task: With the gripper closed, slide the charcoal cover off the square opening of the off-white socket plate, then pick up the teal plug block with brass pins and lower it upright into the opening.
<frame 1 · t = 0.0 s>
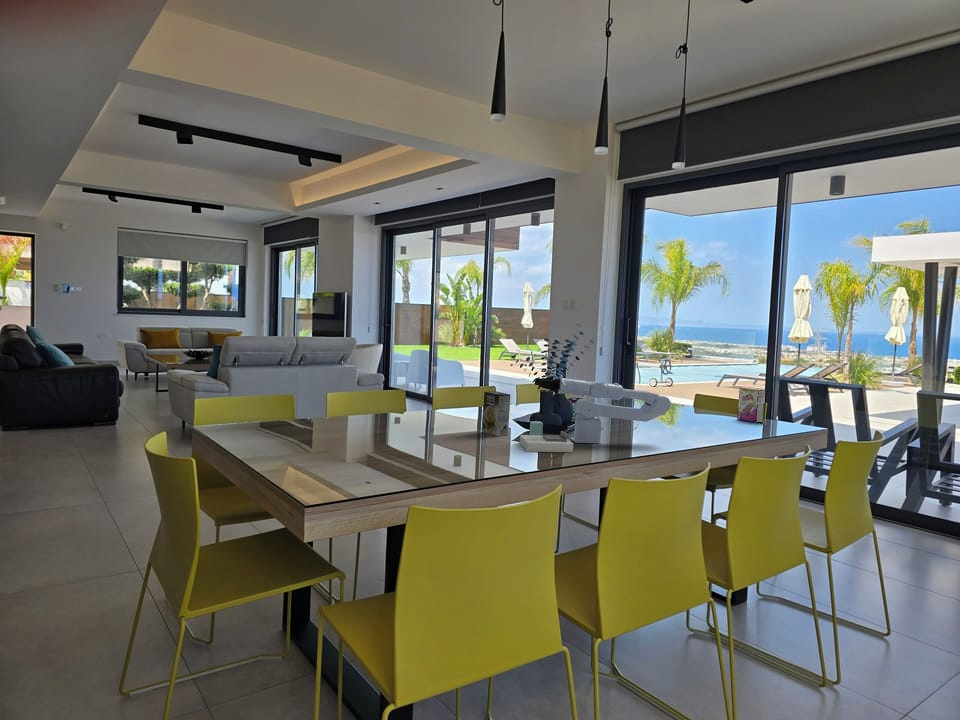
hand: (536, 382, 233), 22 cm above the table, fingers open, 7 cm apart
candy bar box: (749, 421, 310), on the table
socket plate: (545, 447, 221), on the table
plug: (535, 439, 236), on the table
shutter: (555, 435, 221), point 4 cm above the table, slide at 0.0 cm
coffee box: (495, 434, 244), on the table
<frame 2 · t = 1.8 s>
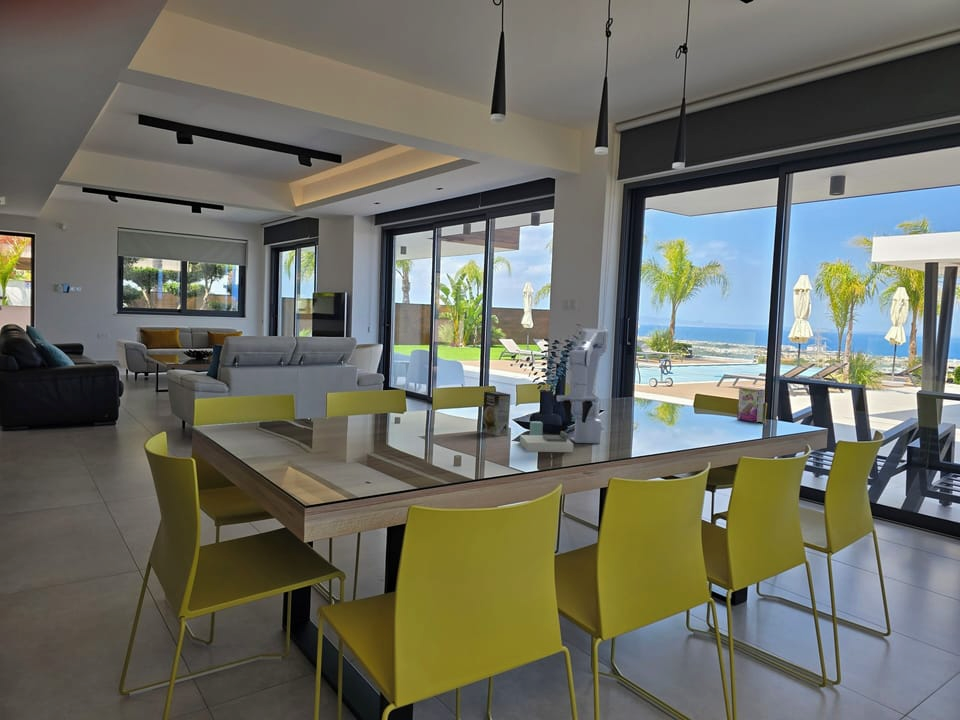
hand: (576, 422, 222), 9 cm above the table, fingers open, 5 cm apart
nothing on the table moved.
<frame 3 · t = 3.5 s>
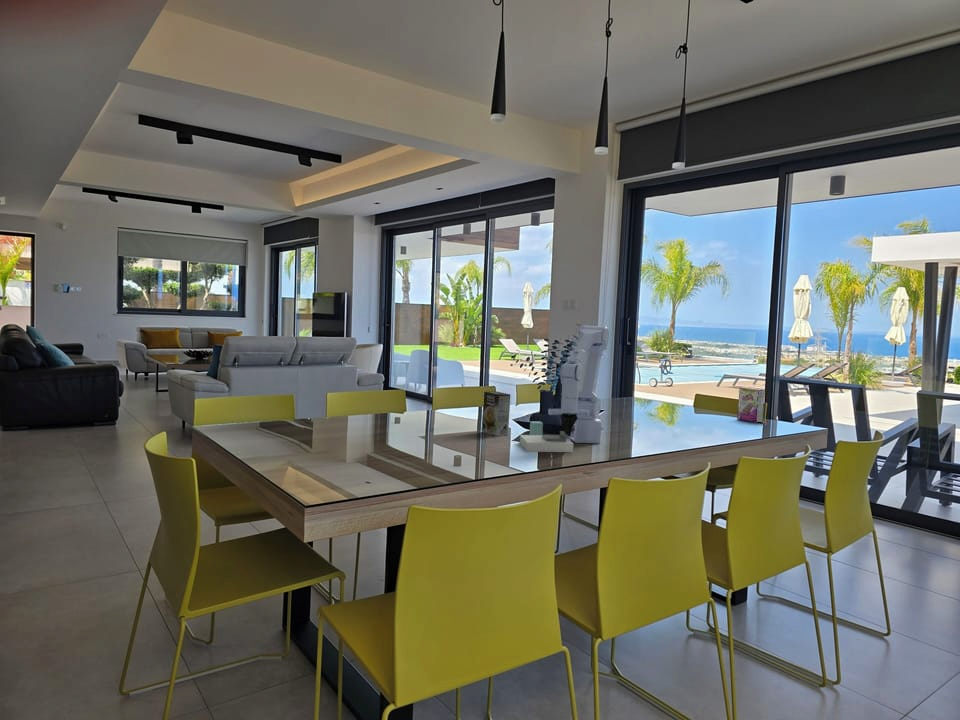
hand: (567, 435, 222), 5 cm above the table, fingers closed
shutter: (554, 435, 221), point 4 cm above the table, slide at 0.2 cm, touching gripper
everything else where it was.
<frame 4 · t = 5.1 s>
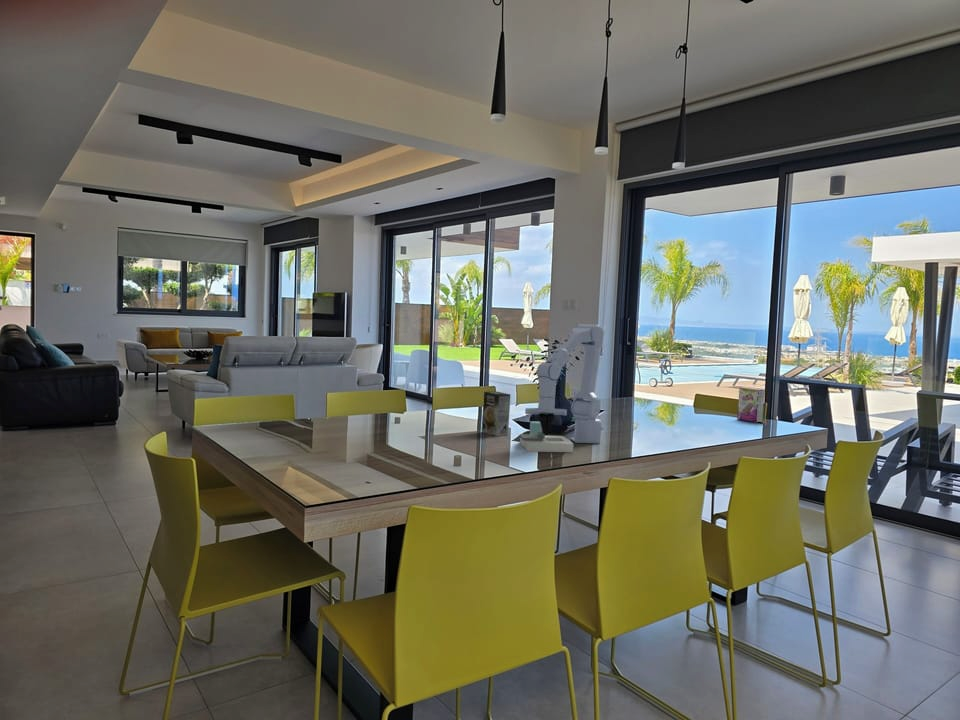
hand: (544, 435, 221), 5 cm above the table, fingers closed
shutter: (531, 435, 220), point 4 cm above the table, slide at 8.4 cm, touching gripper
everything else where it was.
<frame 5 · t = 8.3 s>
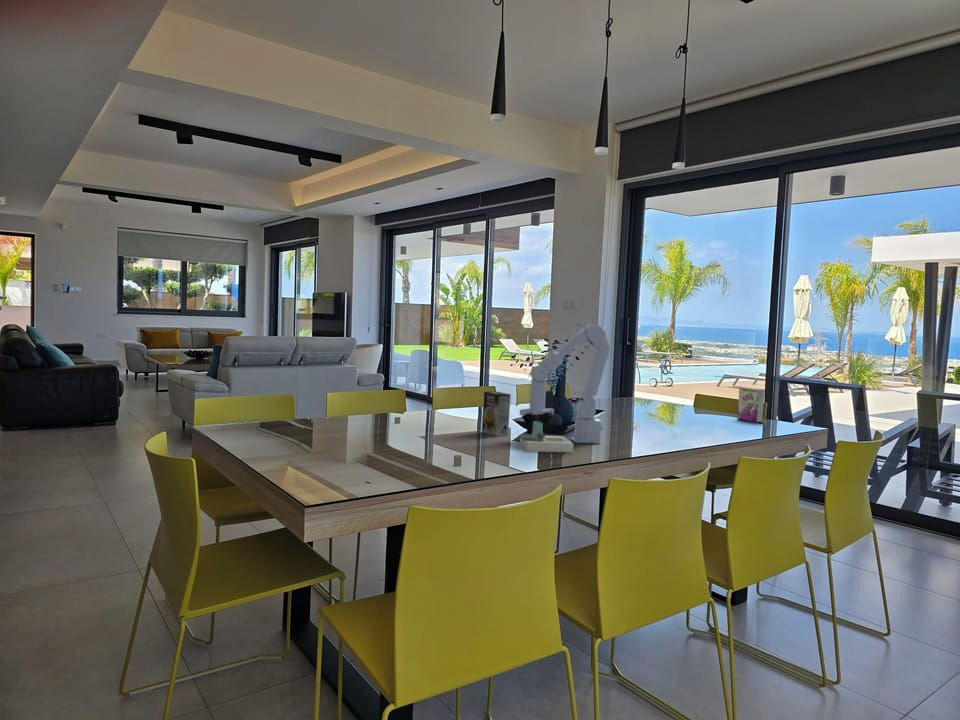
hand: (535, 433, 236), 2 cm above the table, fingers closed on plug, 5 cm apart
plug: (535, 439, 236), on the table, touching gripper
shutter: (531, 435, 220), point 4 cm above the table, slide at 8.4 cm
everything else where it was.
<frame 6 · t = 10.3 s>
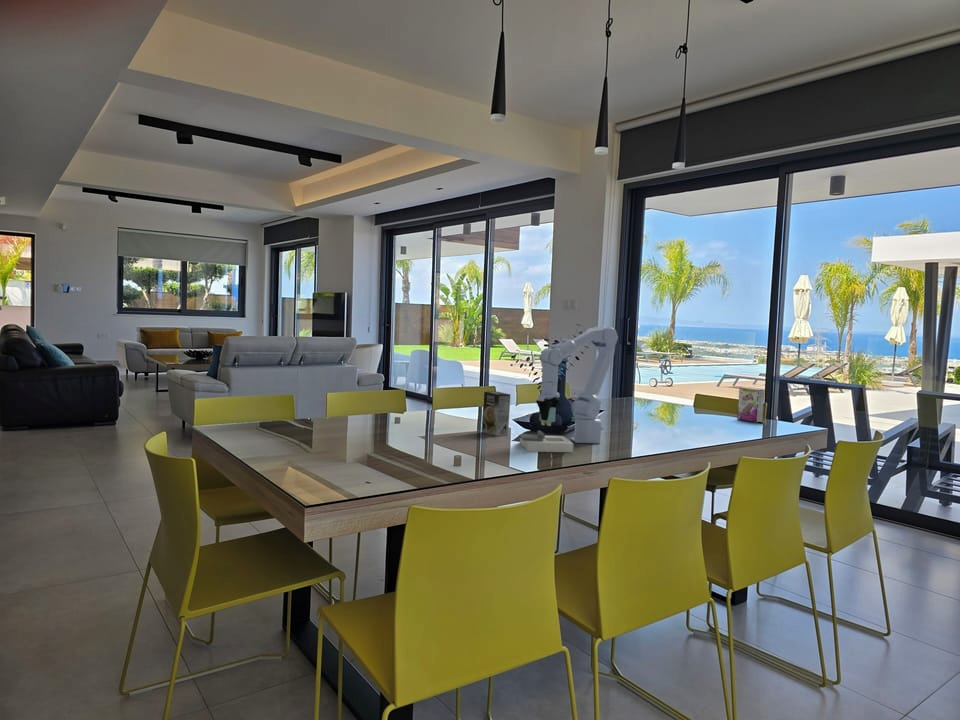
hand: (547, 419, 227), 9 cm above the table, fingers closed on plug, 5 cm apart
plug: (547, 425, 227), point 7 cm above the table, touching gripper
everything else where it was.
when the fingers open (4 cm above the table, at t = 12.6 s): plug drops 1 cm, resting in socket plate.
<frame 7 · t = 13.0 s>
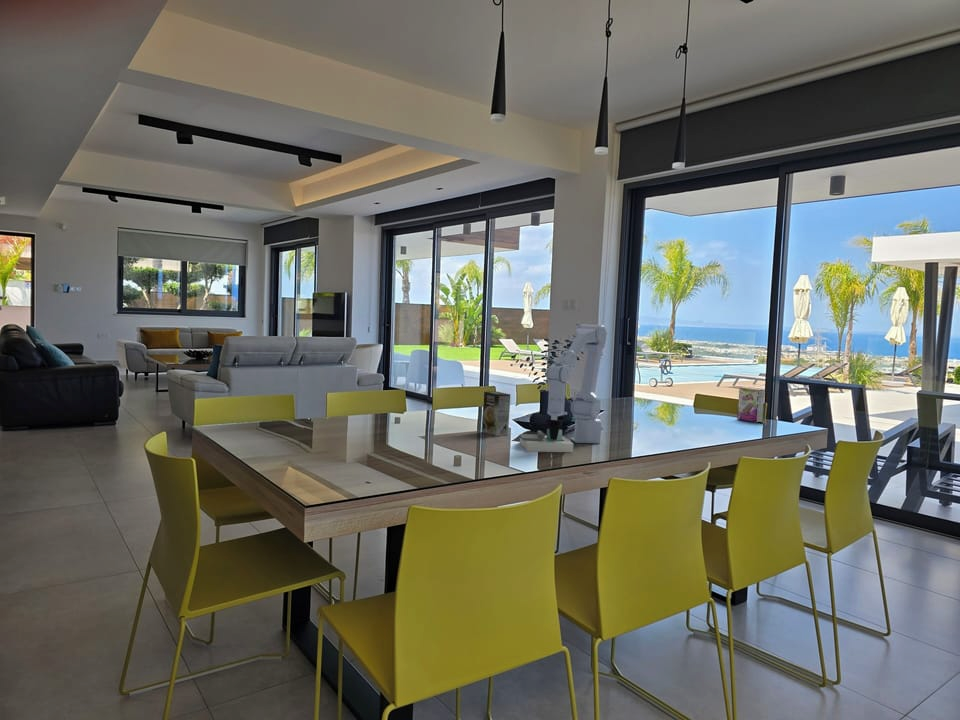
hand: (554, 437, 221), 4 cm above the table, fingers open, 7 cm apart
plug: (553, 447, 222), resting in socket plate
everything else where it was.
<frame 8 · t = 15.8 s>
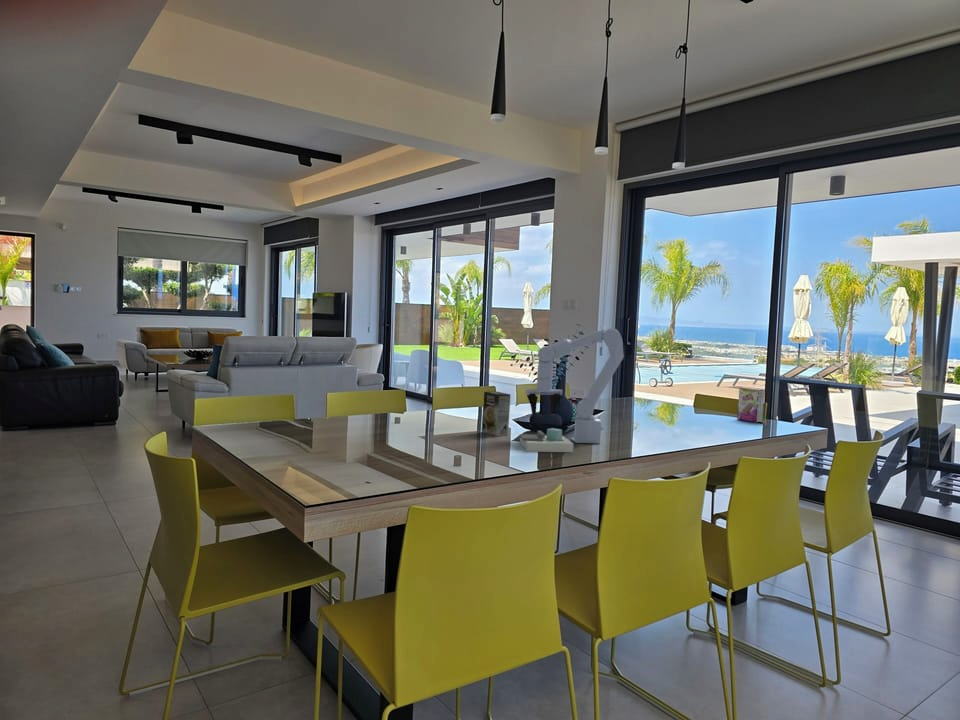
hand: (543, 413, 239), 9 cm above the table, fingers open, 7 cm apart
nothing on the table moved.
at the end: shutter slide at 8.4 cm; plug 0.1 cm from the target spot on the socket plate, point 0.0 cm above the socket plate's base; plug tilted 0° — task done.
